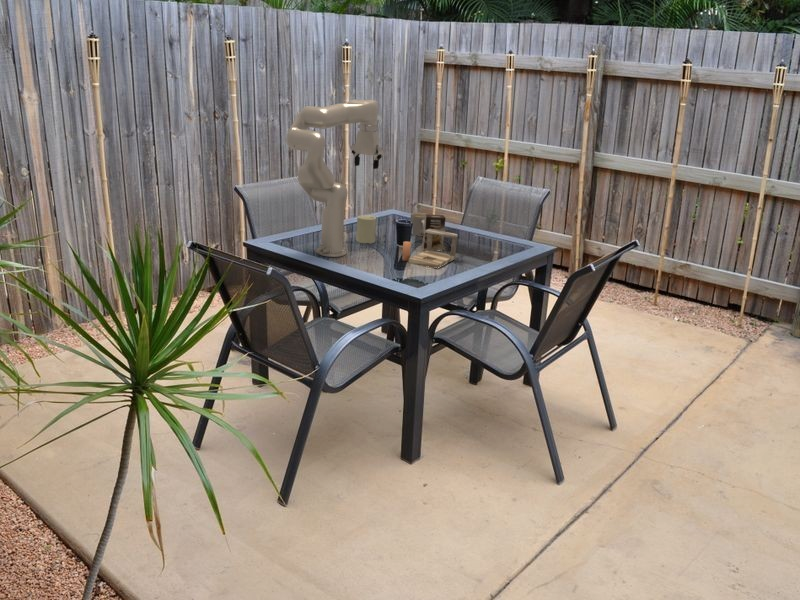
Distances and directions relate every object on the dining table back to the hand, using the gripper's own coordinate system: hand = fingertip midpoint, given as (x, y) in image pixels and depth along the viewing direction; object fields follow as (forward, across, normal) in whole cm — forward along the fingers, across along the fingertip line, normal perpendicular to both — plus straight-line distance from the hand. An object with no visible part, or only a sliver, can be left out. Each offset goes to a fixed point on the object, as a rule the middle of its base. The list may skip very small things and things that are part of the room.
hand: (366, 167), depth 331 cm
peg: (+36, +28, -10) cm, 47 cm away
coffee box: (+36, +30, +14) cm, 49 cm away
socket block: (+36, +39, -4) cm, 53 cm away
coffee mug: (+36, +13, +34) cm, 52 cm away
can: (+36, -1, +5) cm, 37 cm away
